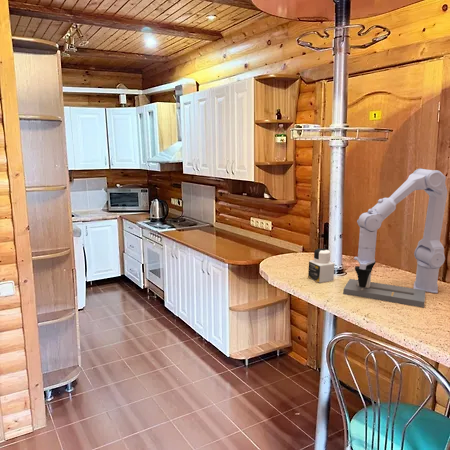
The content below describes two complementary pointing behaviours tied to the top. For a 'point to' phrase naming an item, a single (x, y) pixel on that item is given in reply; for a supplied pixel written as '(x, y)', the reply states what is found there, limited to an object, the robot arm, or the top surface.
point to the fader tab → (367, 281)
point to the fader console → (386, 293)
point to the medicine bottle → (321, 266)
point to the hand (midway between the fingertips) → (364, 283)
